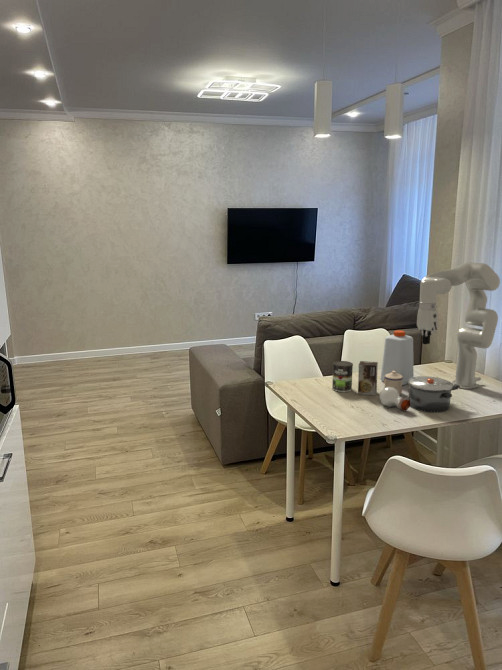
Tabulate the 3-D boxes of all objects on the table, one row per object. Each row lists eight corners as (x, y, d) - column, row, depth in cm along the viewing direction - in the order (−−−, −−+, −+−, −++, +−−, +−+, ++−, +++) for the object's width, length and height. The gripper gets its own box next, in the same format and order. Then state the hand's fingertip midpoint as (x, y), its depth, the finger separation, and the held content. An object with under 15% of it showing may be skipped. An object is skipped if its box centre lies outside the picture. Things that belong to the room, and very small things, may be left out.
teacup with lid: (405, 394, 268) (407, 372, 265) (391, 397, 264) (392, 374, 262) (391, 387, 279) (392, 366, 276) (376, 390, 275) (377, 368, 273)
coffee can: (349, 393, 270) (350, 366, 267) (330, 391, 274) (330, 364, 271) (353, 387, 280) (354, 361, 277) (334, 385, 284) (335, 359, 280)
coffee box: (376, 392, 272) (378, 362, 268) (375, 396, 266) (377, 365, 262) (359, 390, 275) (360, 360, 271) (357, 394, 269) (358, 363, 265)
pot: (429, 394, 268) (430, 374, 266) (466, 409, 246) (468, 388, 244) (395, 400, 260) (397, 379, 258) (431, 417, 238) (433, 394, 235)
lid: (431, 376, 263) (431, 371, 263) (462, 388, 245) (462, 382, 245) (399, 381, 255) (399, 375, 255) (428, 393, 237) (429, 387, 237)
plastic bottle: (391, 375, 300) (394, 327, 294) (416, 380, 290) (419, 331, 284) (377, 381, 290) (379, 331, 284) (402, 387, 279) (405, 335, 273)
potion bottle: (381, 404, 258) (405, 417, 246) (372, 397, 252) (396, 410, 240) (391, 388, 258) (416, 400, 247) (382, 380, 252) (406, 392, 241)
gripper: (445, 307, 243) (443, 346, 247) (422, 302, 256) (421, 339, 260) (433, 309, 240) (431, 348, 244) (410, 304, 253) (409, 341, 257)
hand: (425, 343), depth 252 cm, fingers closed
